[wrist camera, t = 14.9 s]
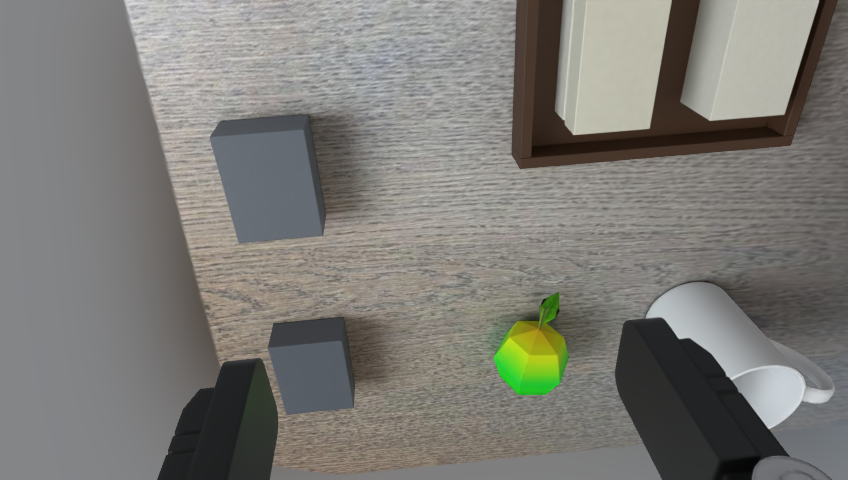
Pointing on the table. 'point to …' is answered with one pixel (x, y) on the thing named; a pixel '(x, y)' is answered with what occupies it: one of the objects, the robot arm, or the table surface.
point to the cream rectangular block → (746, 56)
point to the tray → (671, 120)
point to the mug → (743, 350)
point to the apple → (533, 353)
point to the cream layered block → (609, 63)
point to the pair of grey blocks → (284, 219)
